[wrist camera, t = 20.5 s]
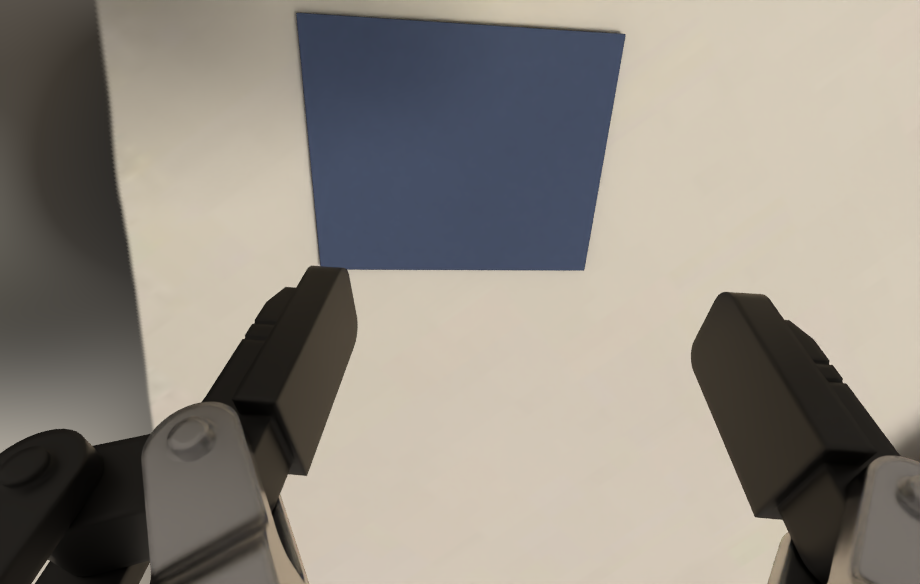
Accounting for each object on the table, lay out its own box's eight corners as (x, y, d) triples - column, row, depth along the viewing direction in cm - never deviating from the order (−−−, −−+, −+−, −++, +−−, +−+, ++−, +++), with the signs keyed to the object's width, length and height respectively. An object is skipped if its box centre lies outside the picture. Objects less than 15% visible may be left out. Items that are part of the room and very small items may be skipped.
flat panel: (297, 13, 19) (295, 12, 19) (622, 34, 21) (626, 33, 20) (321, 267, 24) (320, 269, 24) (582, 268, 26) (584, 270, 26)
